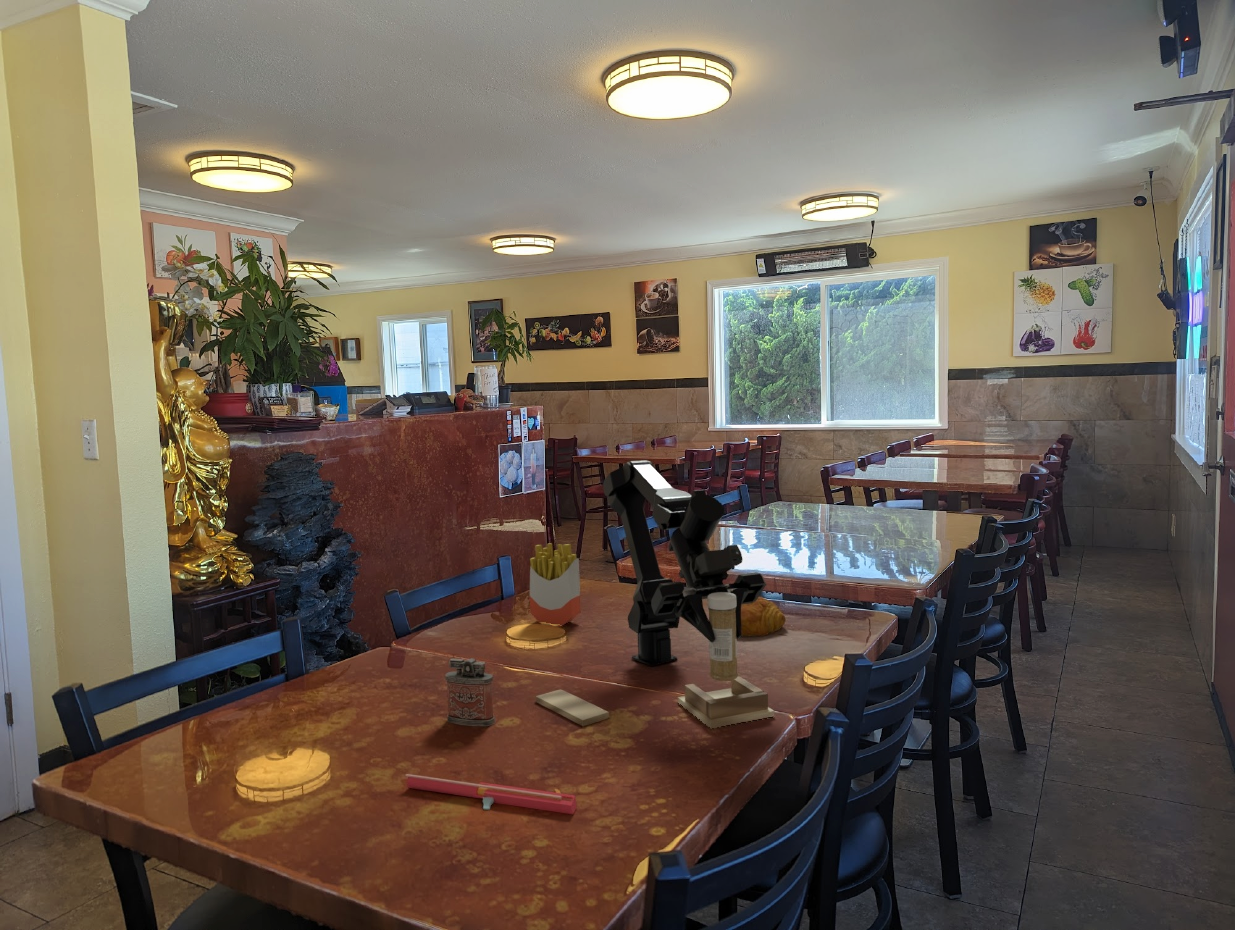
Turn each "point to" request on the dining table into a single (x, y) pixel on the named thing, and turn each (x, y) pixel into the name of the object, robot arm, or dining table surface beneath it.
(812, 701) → the dining table surface
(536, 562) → the french fries container
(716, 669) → the sprinkles bottle
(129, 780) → the dining table surface
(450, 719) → the lighter
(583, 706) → the loose plank
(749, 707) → the beige wooden u-shaped tray
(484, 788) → the red bar
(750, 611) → the croissant
